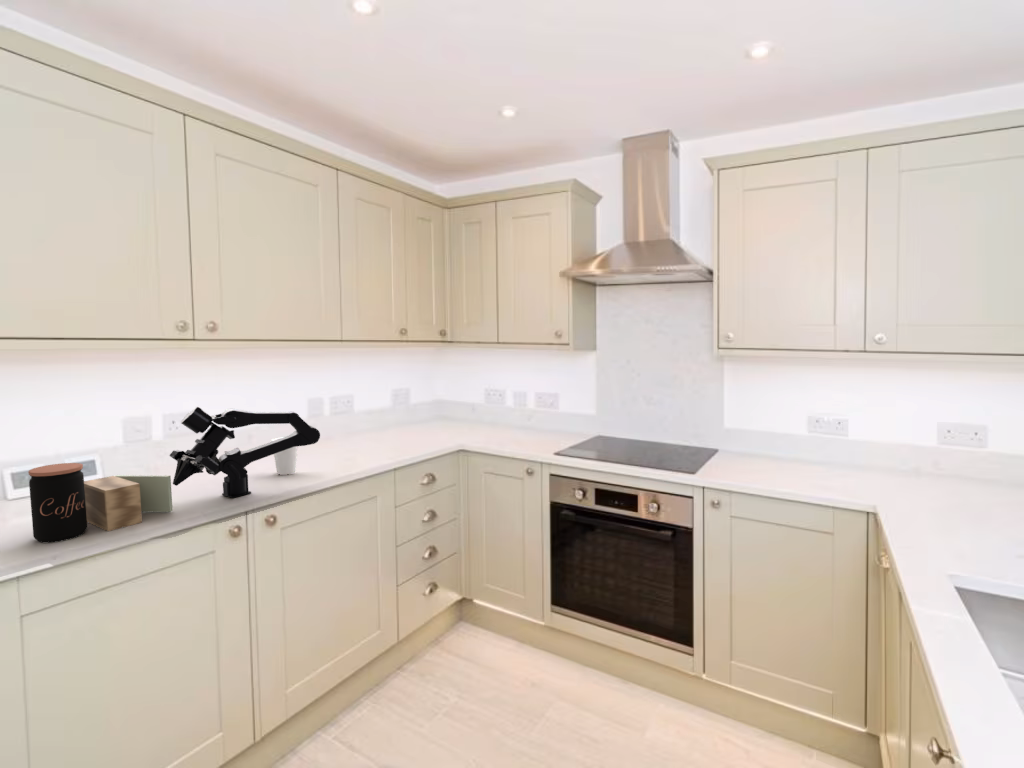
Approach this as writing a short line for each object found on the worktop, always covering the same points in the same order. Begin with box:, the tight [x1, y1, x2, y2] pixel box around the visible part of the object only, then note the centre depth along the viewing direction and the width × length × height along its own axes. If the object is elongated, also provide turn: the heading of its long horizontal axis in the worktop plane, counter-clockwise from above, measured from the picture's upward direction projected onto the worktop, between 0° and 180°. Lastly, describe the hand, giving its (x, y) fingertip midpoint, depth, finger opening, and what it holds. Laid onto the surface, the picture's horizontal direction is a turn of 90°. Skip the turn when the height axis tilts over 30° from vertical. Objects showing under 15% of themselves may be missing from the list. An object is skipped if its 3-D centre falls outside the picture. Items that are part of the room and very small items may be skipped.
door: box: [115, 474, 173, 513], centre depth 155 cm, size 2×16×11 cm, turn 88°
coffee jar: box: [27, 462, 88, 543], centre depth 136 cm, size 11×11×18 cm
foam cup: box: [270, 437, 299, 476], centre depth 200 cm, size 10×9×13 cm
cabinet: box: [84, 475, 143, 532], centre depth 147 cm, size 8×16×11 cm, turn 58°
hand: (174, 484), depth 158 cm, fingers closed
